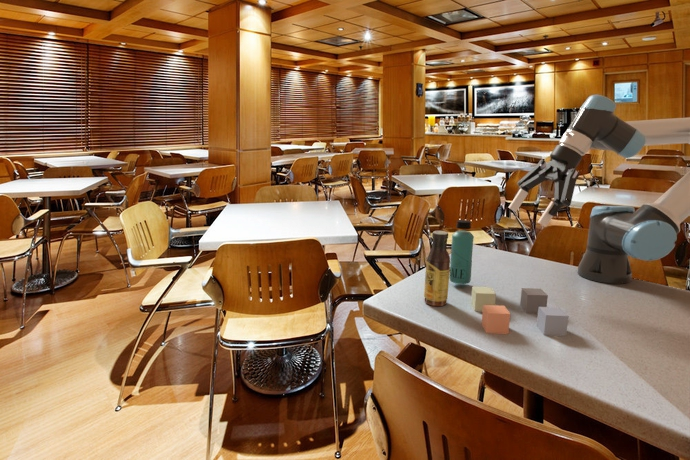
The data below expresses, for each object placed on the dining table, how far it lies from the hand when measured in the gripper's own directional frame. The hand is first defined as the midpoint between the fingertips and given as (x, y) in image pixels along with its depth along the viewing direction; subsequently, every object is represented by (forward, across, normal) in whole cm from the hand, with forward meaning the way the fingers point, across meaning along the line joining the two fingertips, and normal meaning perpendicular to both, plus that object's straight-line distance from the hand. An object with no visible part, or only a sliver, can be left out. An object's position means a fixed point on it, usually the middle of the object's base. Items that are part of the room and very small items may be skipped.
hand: (526, 217), depth 128 cm
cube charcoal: (+20, +15, +6) cm, 26 cm away
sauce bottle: (+32, +5, -14) cm, 36 cm away
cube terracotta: (+27, +23, -9) cm, 37 cm away
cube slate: (+21, +27, +2) cm, 34 cm away
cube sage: (+27, +11, -5) cm, 29 cm away
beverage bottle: (+27, -6, -1) cm, 28 cm away
